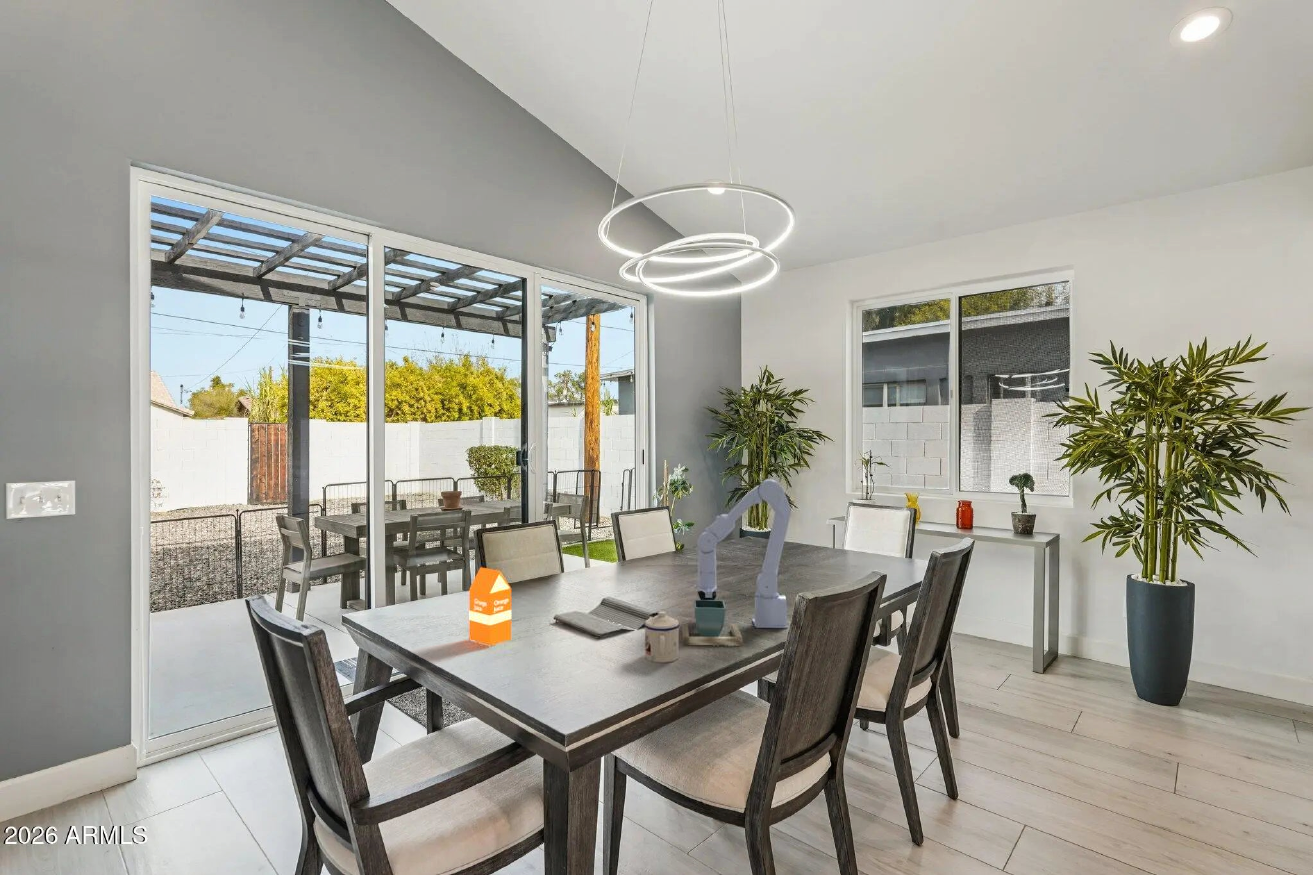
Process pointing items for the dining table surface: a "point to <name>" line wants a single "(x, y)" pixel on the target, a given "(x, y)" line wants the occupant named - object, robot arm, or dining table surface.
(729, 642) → the cream wooden frame
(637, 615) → the mat
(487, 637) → the orange juice
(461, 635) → the dining table surface
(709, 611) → the flower pot
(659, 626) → the teacup with lid
